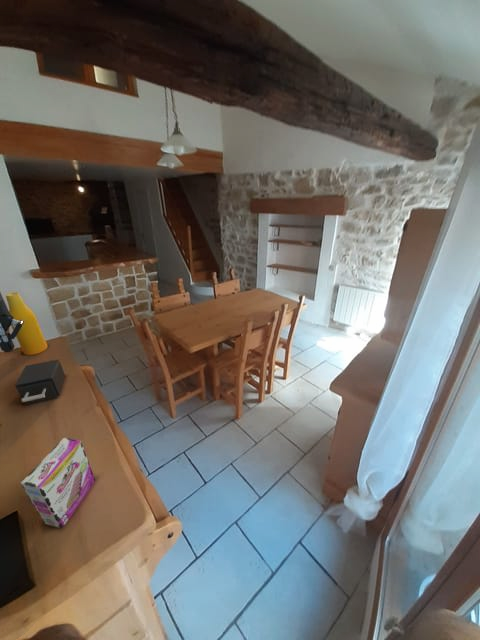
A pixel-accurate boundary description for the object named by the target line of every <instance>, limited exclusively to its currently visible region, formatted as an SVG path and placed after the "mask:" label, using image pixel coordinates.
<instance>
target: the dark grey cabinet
mask: <svg viewBox="0 0 480 640" xmlns="http://www.w3.org/2000/svg"><path fill="white" fill-rule="evenodd" d="M65 379H66V374H65V372H64V369H63V367H62V364H61V361H60V359H53V360H49V361H43V362H38V363H33V364H27V365H25V366H24V368H23V370H22V371H21V373H20V376H19V377H18V378H17V380H16V383H15V385H14V386H15V388H16V389H17V388H18V387H20V386H23V385H28V384H32V383H37V382H42V381H47V380H51V382H52V384H53V386H54V389H55V391H56V393H57V396H58V397H60V396H61V392H62V389H63V385H64V384H65V383H64V382H65Z"/></svg>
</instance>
